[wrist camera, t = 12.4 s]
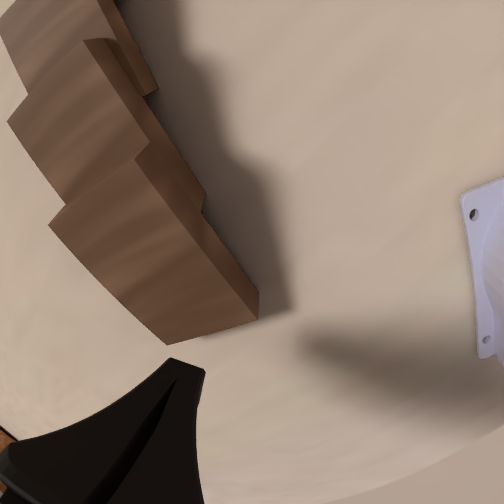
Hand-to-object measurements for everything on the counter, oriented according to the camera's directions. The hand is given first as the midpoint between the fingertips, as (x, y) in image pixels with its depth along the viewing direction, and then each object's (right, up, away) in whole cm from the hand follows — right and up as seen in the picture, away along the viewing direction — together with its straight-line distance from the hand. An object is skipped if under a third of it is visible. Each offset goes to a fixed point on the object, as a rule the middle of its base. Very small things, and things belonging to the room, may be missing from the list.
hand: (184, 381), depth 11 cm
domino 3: (+1, +2, +4) cm, 4 cm away
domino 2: (-2, +6, +3) cm, 7 cm away
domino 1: (-4, +10, +1) cm, 11 cm away
